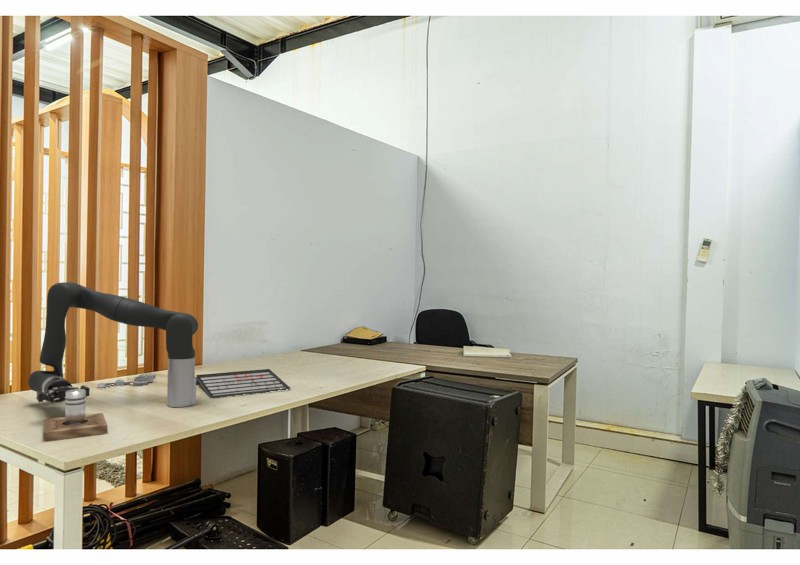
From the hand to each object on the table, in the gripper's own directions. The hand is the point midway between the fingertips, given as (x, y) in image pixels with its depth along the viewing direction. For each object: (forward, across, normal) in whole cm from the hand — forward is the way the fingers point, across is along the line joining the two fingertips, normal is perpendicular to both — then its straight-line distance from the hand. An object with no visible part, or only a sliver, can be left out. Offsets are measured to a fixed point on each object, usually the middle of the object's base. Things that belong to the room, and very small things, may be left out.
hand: (68, 397), depth 170 cm
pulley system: (-51, +35, +9) cm, 62 cm away
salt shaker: (+8, 0, +8) cm, 12 cm away
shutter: (-18, +68, +9) cm, 71 cm away
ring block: (+8, 0, +8) cm, 12 cm away
